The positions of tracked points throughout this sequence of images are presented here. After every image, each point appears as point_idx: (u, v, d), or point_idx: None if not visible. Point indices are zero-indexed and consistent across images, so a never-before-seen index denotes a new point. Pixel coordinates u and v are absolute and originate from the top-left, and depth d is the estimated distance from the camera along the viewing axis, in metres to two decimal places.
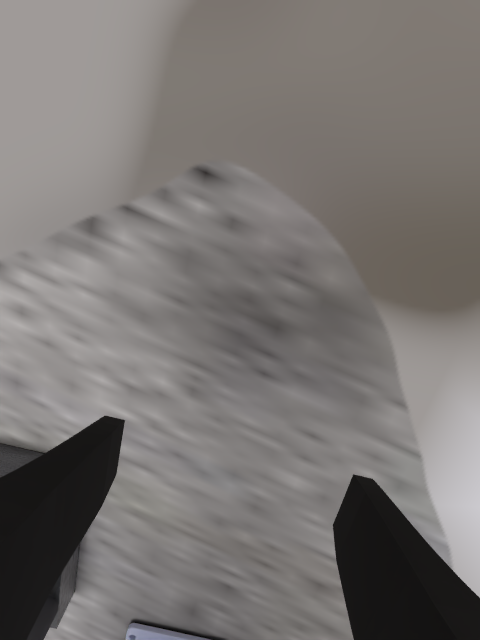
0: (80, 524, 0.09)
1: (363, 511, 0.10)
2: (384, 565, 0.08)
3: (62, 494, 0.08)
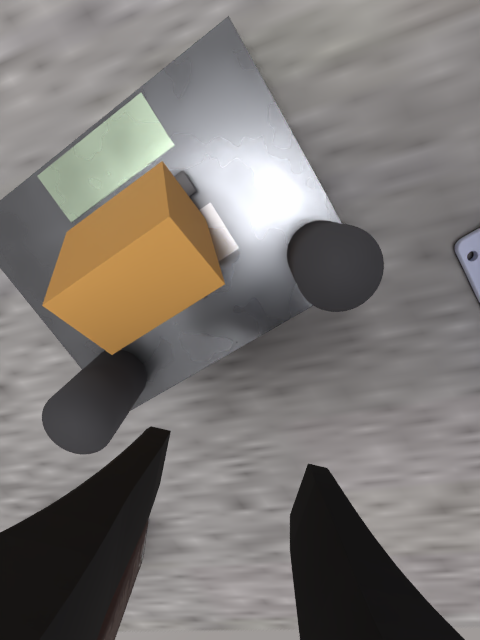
0: (134, 536, 0.09)
1: (312, 499, 0.10)
2: (325, 551, 0.08)
3: (127, 509, 0.08)
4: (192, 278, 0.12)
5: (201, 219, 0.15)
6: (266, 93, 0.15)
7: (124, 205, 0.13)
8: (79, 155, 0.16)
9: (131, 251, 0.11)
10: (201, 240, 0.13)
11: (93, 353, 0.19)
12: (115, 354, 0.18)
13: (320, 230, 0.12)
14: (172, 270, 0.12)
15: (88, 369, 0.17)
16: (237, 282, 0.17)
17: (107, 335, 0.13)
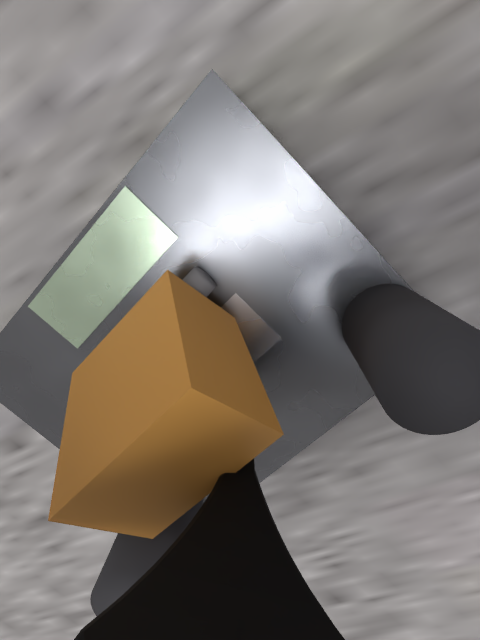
0: None
1: None
2: None
3: None
4: (239, 441, 0.08)
5: (230, 326, 0.12)
6: (279, 150, 0.12)
7: (131, 343, 0.10)
8: (70, 273, 0.13)
9: (148, 438, 0.08)
10: (238, 376, 0.09)
11: None
12: None
13: (405, 337, 0.09)
14: (209, 441, 0.08)
15: None
16: (287, 376, 0.14)
17: (141, 523, 0.09)
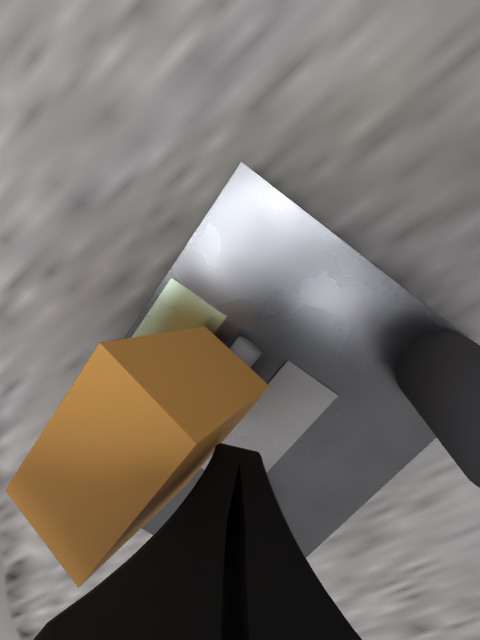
0: None
1: (235, 481, 0.10)
2: (236, 530, 0.08)
3: None
4: (148, 437, 0.07)
5: (247, 380, 0.11)
6: (314, 224, 0.12)
7: None
8: None
9: (72, 401, 0.08)
10: (192, 388, 0.09)
11: None
12: None
13: None
14: (120, 425, 0.08)
15: None
16: (348, 429, 0.14)
17: (68, 545, 0.08)
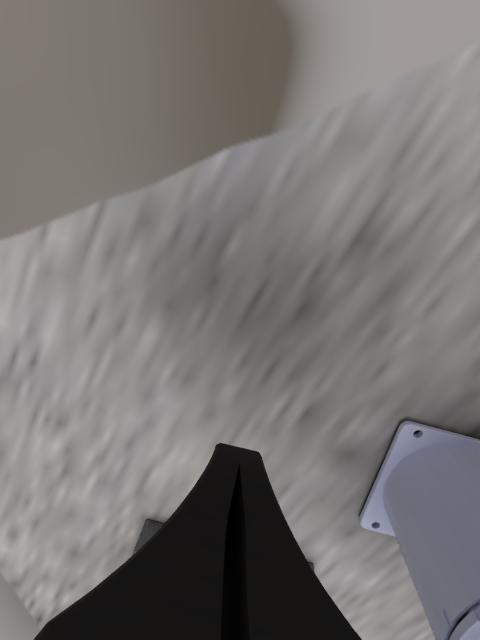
0: None
1: (236, 481, 0.10)
2: (236, 530, 0.08)
3: None
4: None
5: None
6: None
7: None
8: None
9: None
10: None
11: None
12: None
13: None
14: None
15: None
16: None
17: None
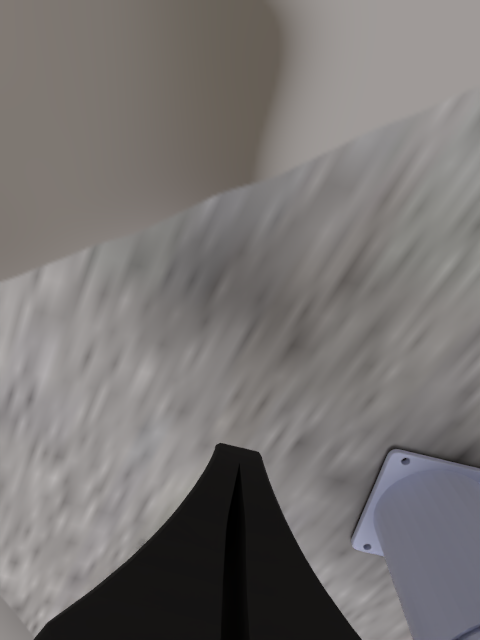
0: None
1: (236, 481, 0.10)
2: (236, 530, 0.08)
3: None
4: None
5: None
6: None
7: None
8: None
9: None
10: None
11: None
12: None
13: None
14: None
15: None
16: None
17: None
